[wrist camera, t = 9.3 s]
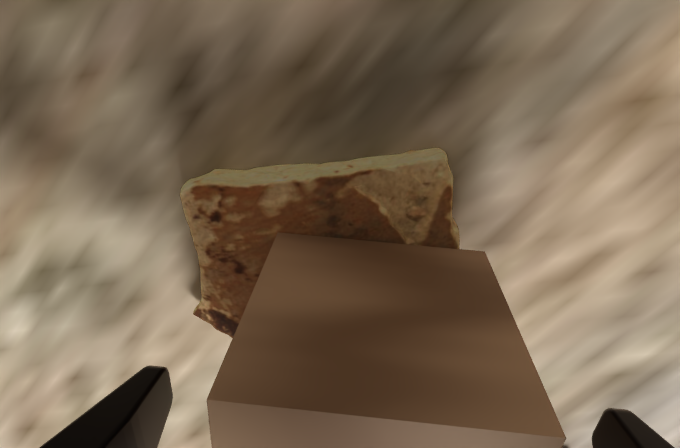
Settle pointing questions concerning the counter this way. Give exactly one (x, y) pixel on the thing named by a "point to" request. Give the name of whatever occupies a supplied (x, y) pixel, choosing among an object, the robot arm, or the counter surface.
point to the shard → (309, 216)
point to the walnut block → (378, 354)
